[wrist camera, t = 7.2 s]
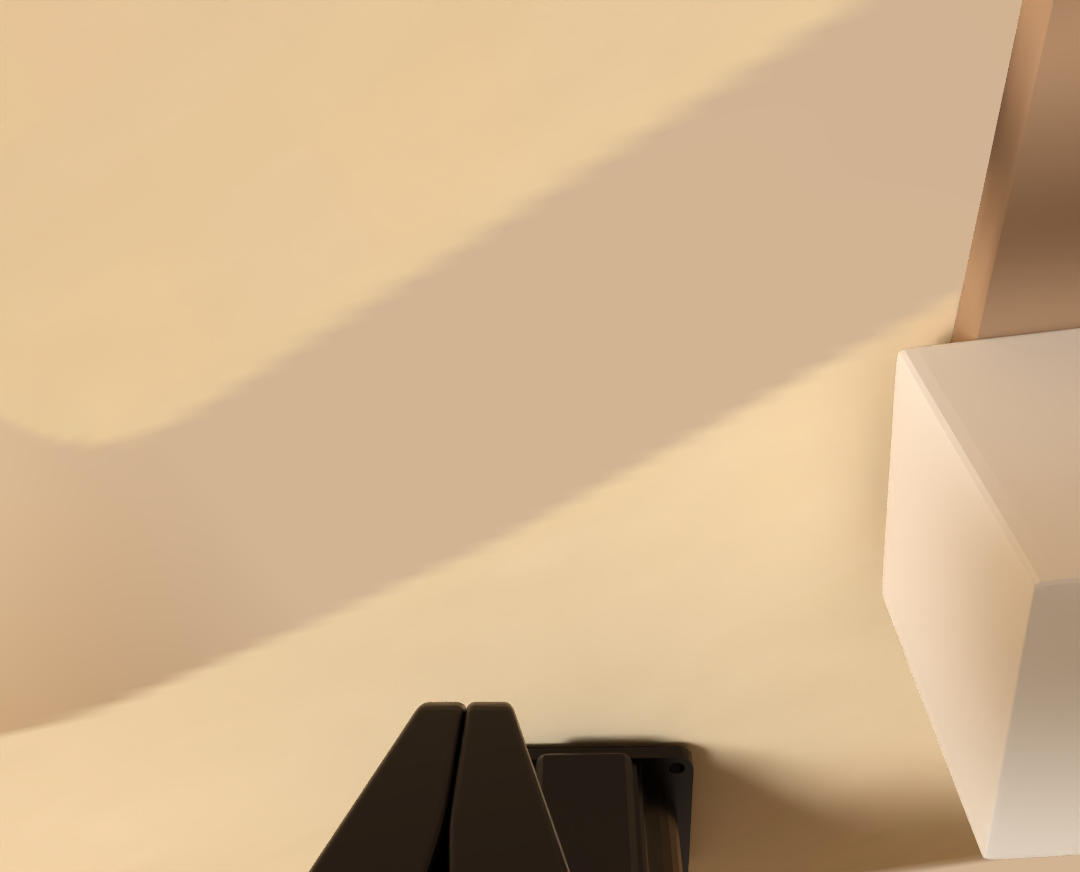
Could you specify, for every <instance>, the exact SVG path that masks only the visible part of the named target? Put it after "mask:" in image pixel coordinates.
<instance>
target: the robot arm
mask: <svg viewBox="0 0 1080 872" xmlns="http://www.w3.org/2000/svg"><path fill="white" fill-rule="evenodd" d="M692 784H693V761H692V755H691V752H690V751H689V750H688V749H685V748H683V747H676V746H670V747H600V748H531V749H527V746H526V744H525V741H524V738H523V735H522V732H521V729H520V726H519V723H518V720H517V718H516V715H515V712H514V709H513V707H512V706H511V705H510V704H509V703H507V702H473V703H471V704H469V705H468V707H467V709H466V707H465V705H464V704H462V703H459V702H427V703H424V704H422V705H421V706H419V708H418V709H417V710H416V711H415V713H414V714H413V716H412V717H411V719H410V720H409V722H408V723H407V725H406V726H405V728H404V729H403V731H402V732H401V734H400V735H399V737H398V738H397V740H396V741H395V743H394V744H393V746H392V747H391V749H390V750H389V752H388V753H387V755H386V756H385V758H384V759H383V761H382V762H381V764H380V765H379V767H378V768H377V770H376V771H375V773H374V774H373V776H372V777H371V779H370V780H369V782H368V783H367V785H366V786H365V788H364V789H363V791H362V793H361V794H360V796H359V797H358V799H357V800H356V802H355V803H354V805H353V806H352V808H351V809H350V811H349V812H348V814H347V815H346V817H345V818H344V820H343V821H342V823H341V824H340V826H339V827H338V829H337V830H336V832H335V833H334V835H333V836H332V838H331V839H330V841H329V842H328V844H327V845H326V847H325V848H324V850H323V851H322V853H321V854H320V856H319V857H318V859H317V860H316V862H315V863H314V865H313V866H312V868H311V869H310V871H309V872H688V864H689V844H690V824H691V804H692Z"/></svg>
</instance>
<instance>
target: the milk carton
mask: <svg viewBox="0 0 1080 872" xmlns="http://www.w3.org/2000/svg"><path fill="white" fill-rule="evenodd" d="M882 592H883V598H884V601H885V604H886V606H887V609H888V612H889V614H890V617H891V620H892V622H893V625H894V628H895V630H896V633H897V636H898V638H899V641H900V643H901V646H902V649H903V651H904V654H905V657H906V659H907V662H908V664H909V667H910V670H911V672H912V675H913V678H914V680H915V683H916V685H917V688H918V691H919V693H920V696H921V699H922V701H923V704H924V706H925V709H926V712H927V714H928V717H929V719H930V722H931V725H932V727H933V730H934V732H935V735H936V738H937V740H938V743H939V745H940V748H941V751H942V753H943V756H944V758H945V761H946V764H947V766H948V769H949V771H950V774H951V777H952V779H953V782H954V784H955V787H956V790H957V792H958V795H959V797H960V800H961V802H962V805H963V808H964V810H965V813H966V815H967V818H968V820H969V823H970V826H971V828H972V831H973V833H974V836H975V838H976V841H977V843H978V846H979V849H980V851H981V854H982V856H983V858H985V859H989V860H998V859H1016V858H1017V859H1018V858H1035V857H1050V856H1051V857H1052V856H1068V855H1080V328H1075V329H1066V330H1058V331H1049V332H1041V333H1032V334H1024V335H1015V336H1006V337H998V338H989V339H981V340H972V341H964V342H955V343H947V344H938V345H929V346H921V347H913V348H908V349H903V350H902V351H900V352H899V353H898V357H897V364H896V377H895V391H894V407H893V423H892V438H891V454H890V470H889V486H888V501H887V517H886V533H885V549H884V564H883V583H882Z"/></svg>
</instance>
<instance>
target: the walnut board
mask: <svg viewBox="0 0 1080 872" xmlns="http://www.w3.org/2000/svg"><path fill="white" fill-rule="evenodd" d="M1075 328H1080V0H1023V2H1022V7H1021V11H1020V16H1019V21H1018V25H1017V30H1016V35H1015V40H1014V44H1013V49H1012V54H1011V59H1010V64H1009V68H1008V73H1007V78H1006V83H1005V88H1004V92H1003V98H1002V102H1001V107H1000V112H999V116H998V121H997V126H996V131H995V136H994V140H993V145H992V150H991V155H990V160H989V164H988V169H987V174H986V179H985V183H984V189H983V193H982V199H981V203H980V207H979V212H978V217H977V222H976V226H975V231H974V236H973V241H972V246H971V250H970V255H969V260H968V265H967V270H966V274H965V279H964V284H963V289H962V294H961V298H960V303H959V308H958V313H957V318H956V322H955V327H954V332H953V337H952V341H951V343H955V342H964V341H972V340H981V339H989V338H998V337H1006V336H1015V335H1024V334H1032V333H1041V332H1049V331H1058V330H1066V329H1075Z"/></svg>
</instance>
